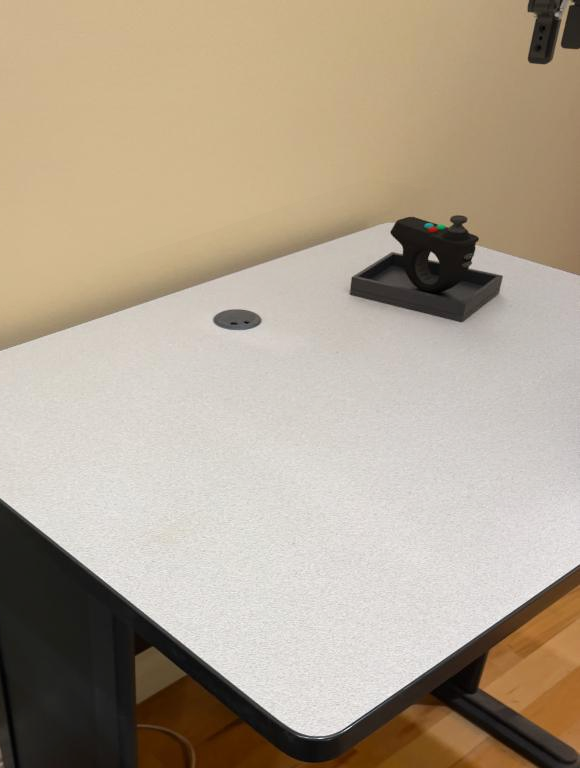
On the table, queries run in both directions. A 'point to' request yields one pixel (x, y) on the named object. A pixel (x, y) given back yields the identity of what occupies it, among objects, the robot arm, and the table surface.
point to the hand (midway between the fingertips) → (555, 55)
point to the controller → (435, 251)
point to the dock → (396, 288)
